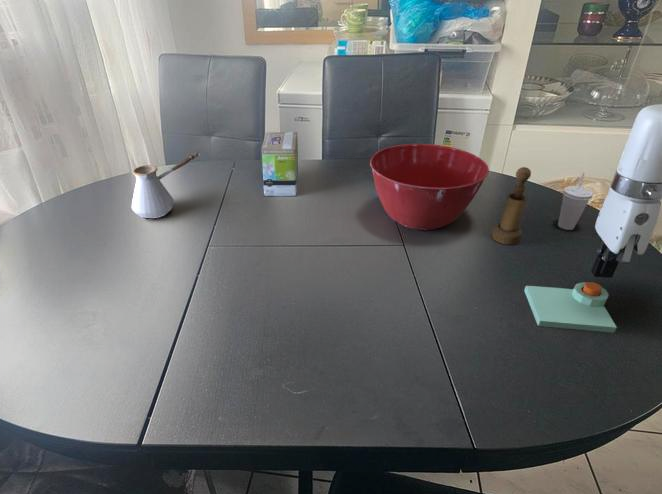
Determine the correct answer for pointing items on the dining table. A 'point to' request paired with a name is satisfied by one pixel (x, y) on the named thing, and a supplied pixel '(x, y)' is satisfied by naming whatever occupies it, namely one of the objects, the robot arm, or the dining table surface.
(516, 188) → the mortar and pestle
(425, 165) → the mixing bowl
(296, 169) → the tea box
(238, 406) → the dining table surface
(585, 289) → the button
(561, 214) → the smoothie
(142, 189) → the coffee pot
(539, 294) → the mint green button board
